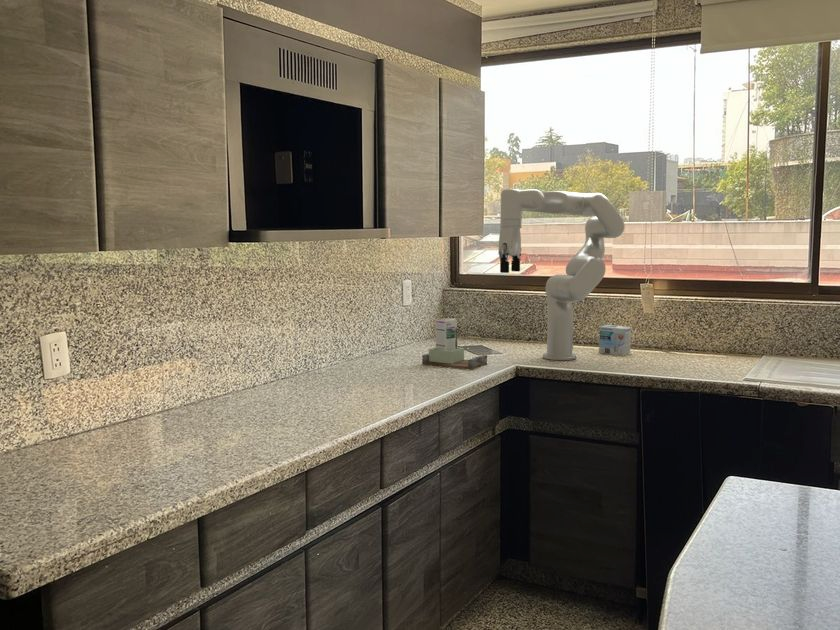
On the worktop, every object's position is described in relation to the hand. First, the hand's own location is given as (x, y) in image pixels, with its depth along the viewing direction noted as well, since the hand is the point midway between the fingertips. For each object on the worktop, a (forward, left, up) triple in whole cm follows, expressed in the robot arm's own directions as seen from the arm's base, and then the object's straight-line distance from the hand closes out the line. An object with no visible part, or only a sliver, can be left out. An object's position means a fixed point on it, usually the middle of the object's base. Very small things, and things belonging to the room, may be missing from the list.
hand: (510, 272), depth 276 cm
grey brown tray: (+13, -16, -33) cm, 39 cm away
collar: (+13, -19, -32) cm, 39 cm away
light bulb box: (-41, +27, -34) cm, 59 cm away
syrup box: (+13, -19, -32) cm, 39 cm away
